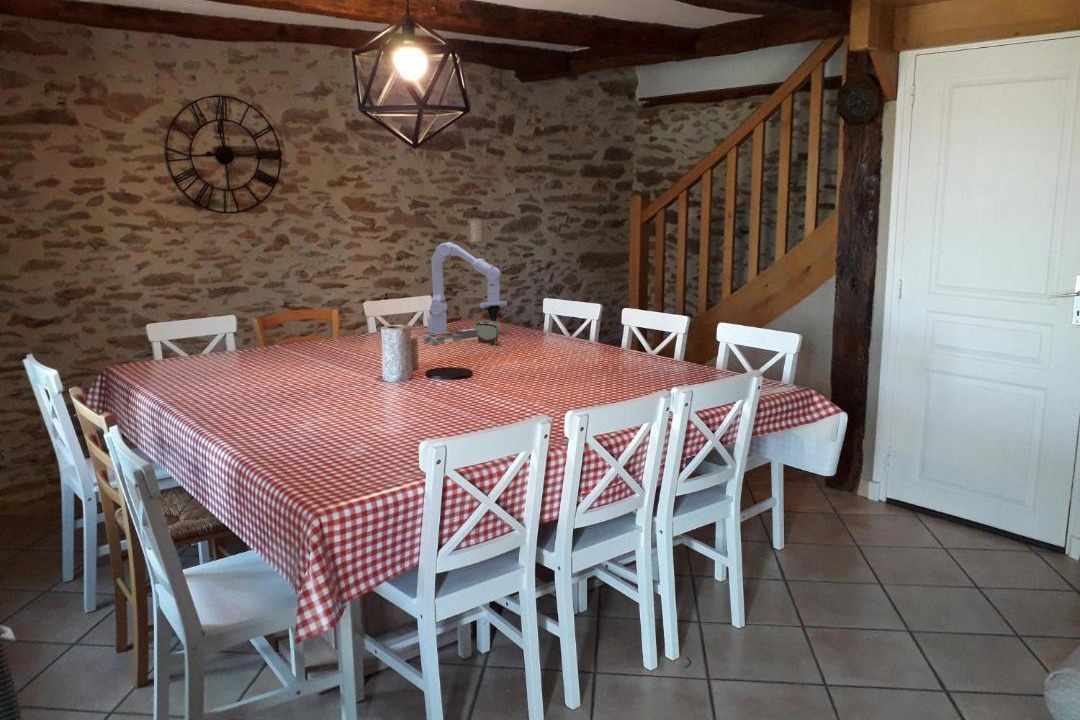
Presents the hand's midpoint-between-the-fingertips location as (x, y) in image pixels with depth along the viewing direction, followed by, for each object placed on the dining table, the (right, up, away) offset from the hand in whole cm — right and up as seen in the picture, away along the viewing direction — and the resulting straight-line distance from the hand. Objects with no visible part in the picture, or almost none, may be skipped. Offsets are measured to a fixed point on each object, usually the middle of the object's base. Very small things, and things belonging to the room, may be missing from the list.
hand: (493, 321), depth 399 cm
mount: (-16, -9, -11) cm, 22 cm away
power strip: (-10, -8, -6) cm, 14 cm away
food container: (0, -11, -19) cm, 22 cm away
